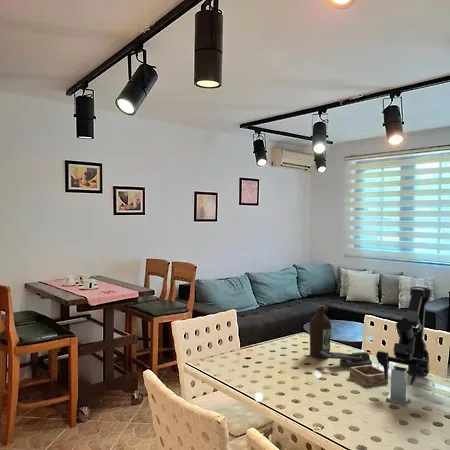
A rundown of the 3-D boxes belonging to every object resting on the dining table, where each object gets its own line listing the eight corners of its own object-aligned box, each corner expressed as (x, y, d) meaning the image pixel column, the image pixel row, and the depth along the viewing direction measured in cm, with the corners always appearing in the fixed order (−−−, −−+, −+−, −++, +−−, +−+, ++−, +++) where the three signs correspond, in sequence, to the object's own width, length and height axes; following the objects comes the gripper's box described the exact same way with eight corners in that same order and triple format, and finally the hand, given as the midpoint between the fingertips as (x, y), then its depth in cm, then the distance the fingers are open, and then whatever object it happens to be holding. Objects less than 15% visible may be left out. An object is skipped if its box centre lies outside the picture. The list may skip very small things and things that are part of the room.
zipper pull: (317, 350, 198) (363, 346, 205) (317, 364, 198) (362, 360, 205) (328, 356, 189) (375, 352, 197) (327, 371, 189) (374, 366, 197)
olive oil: (304, 355, 210) (305, 305, 210) (316, 351, 217) (317, 302, 217) (322, 361, 202) (324, 309, 202) (334, 356, 210) (336, 306, 209)
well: (369, 373, 188) (370, 364, 188) (387, 382, 177) (388, 373, 177) (349, 376, 184) (349, 367, 184) (366, 385, 173) (367, 376, 173)
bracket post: (390, 394, 165) (391, 364, 165) (409, 399, 161) (410, 368, 161) (386, 400, 159) (387, 369, 159) (405, 405, 155) (406, 373, 155)
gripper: (378, 330, 169) (369, 365, 160) (429, 339, 158) (422, 377, 149) (382, 345, 175) (374, 379, 167) (432, 355, 165) (425, 392, 156)
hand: (398, 381), depth 159 cm, fingers open, 9 cm apart
